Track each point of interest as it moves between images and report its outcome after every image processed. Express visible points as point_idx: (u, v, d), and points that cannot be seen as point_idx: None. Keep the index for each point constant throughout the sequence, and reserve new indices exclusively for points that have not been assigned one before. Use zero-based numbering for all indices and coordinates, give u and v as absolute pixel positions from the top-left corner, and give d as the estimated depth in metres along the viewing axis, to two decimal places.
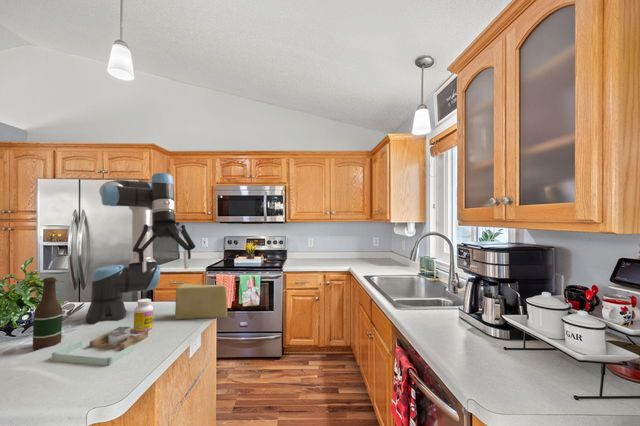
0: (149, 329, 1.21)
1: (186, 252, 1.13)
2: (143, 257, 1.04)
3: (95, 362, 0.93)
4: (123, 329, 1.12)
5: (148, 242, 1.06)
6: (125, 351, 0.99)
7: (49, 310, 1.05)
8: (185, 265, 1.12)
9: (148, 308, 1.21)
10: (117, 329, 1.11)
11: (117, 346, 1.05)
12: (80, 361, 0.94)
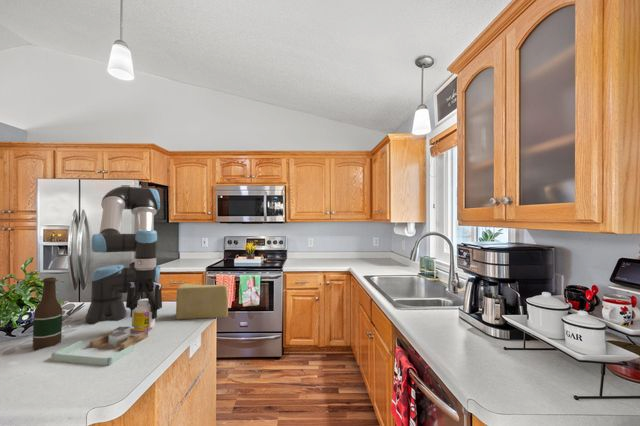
0: (149, 329, 1.21)
1: (149, 313, 1.20)
2: None
3: (95, 362, 0.93)
4: (123, 329, 1.12)
5: (133, 300, 1.21)
6: (125, 351, 0.99)
7: (49, 310, 1.05)
8: None
9: (148, 308, 1.21)
10: (117, 329, 1.11)
11: (117, 346, 1.05)
12: (80, 361, 0.94)
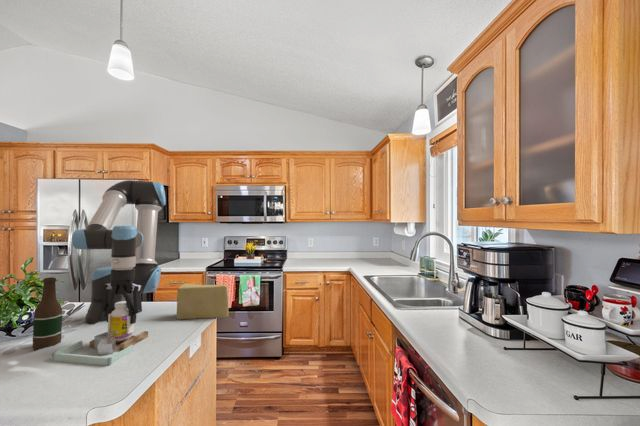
0: (127, 335, 1.09)
1: (127, 318, 1.09)
2: None
3: (95, 362, 0.93)
4: (105, 335, 1.05)
5: (110, 303, 1.10)
6: (125, 351, 0.99)
7: (49, 310, 1.05)
8: None
9: (126, 311, 1.09)
10: (99, 335, 1.05)
11: (113, 352, 1.01)
12: (80, 361, 0.94)
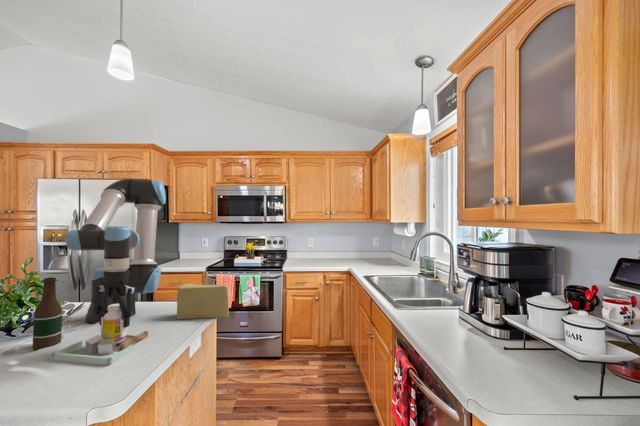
0: (121, 338, 1.06)
1: (121, 321, 1.06)
2: None
3: (95, 362, 0.93)
4: (95, 340, 1.02)
5: (103, 306, 1.07)
6: (125, 351, 0.99)
7: (49, 310, 1.05)
8: None
9: (119, 314, 1.06)
10: (90, 339, 1.02)
11: (113, 352, 1.01)
12: (80, 361, 0.94)
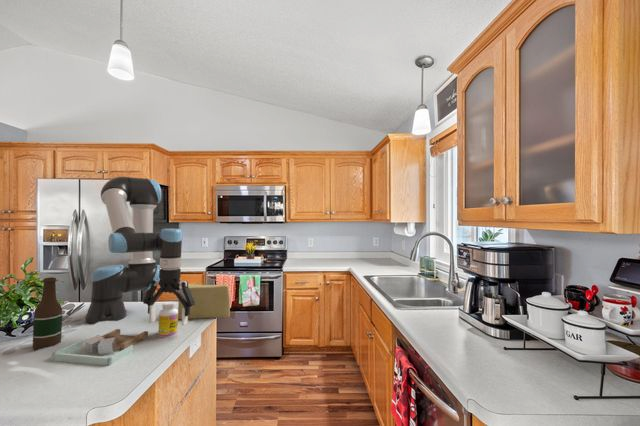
0: (174, 333, 1.17)
1: (183, 310, 1.16)
2: (150, 310, 1.18)
3: (95, 362, 0.93)
4: (95, 340, 1.02)
5: (153, 297, 1.18)
6: (125, 351, 0.99)
7: (49, 310, 1.05)
8: None
9: (173, 311, 1.17)
10: (90, 339, 1.02)
11: (113, 352, 1.01)
12: (80, 361, 0.94)
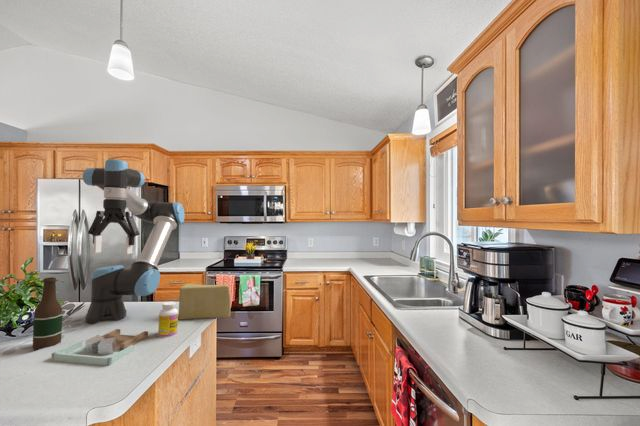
0: (174, 333, 1.17)
1: (126, 239, 1.18)
2: None
3: (95, 362, 0.93)
4: (95, 340, 1.02)
5: (98, 227, 1.19)
6: (125, 351, 0.99)
7: (49, 310, 1.05)
8: None
9: (173, 311, 1.17)
10: (90, 339, 1.02)
11: (113, 352, 1.01)
12: (80, 361, 0.94)
